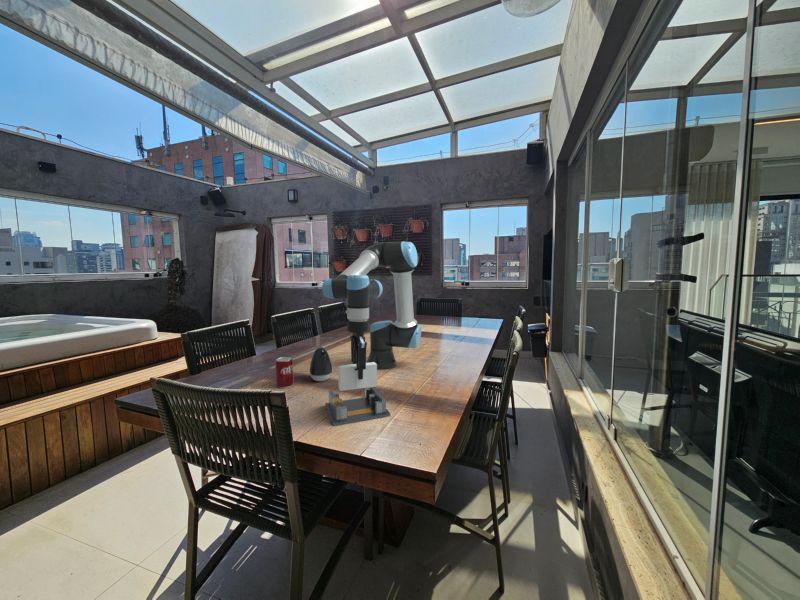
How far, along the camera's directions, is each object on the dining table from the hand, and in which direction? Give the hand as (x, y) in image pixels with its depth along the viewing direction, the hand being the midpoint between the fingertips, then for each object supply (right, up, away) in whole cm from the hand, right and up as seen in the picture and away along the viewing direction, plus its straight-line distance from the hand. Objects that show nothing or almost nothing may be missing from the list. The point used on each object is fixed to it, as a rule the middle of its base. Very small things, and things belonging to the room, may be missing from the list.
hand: (358, 385), depth 118 cm
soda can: (-36, -8, +30) cm, 47 cm away
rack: (-1, -10, +5) cm, 11 cm away
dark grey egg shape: (-22, -7, +37) cm, 44 cm away
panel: (0, 0, 0) cm, 0 cm away
